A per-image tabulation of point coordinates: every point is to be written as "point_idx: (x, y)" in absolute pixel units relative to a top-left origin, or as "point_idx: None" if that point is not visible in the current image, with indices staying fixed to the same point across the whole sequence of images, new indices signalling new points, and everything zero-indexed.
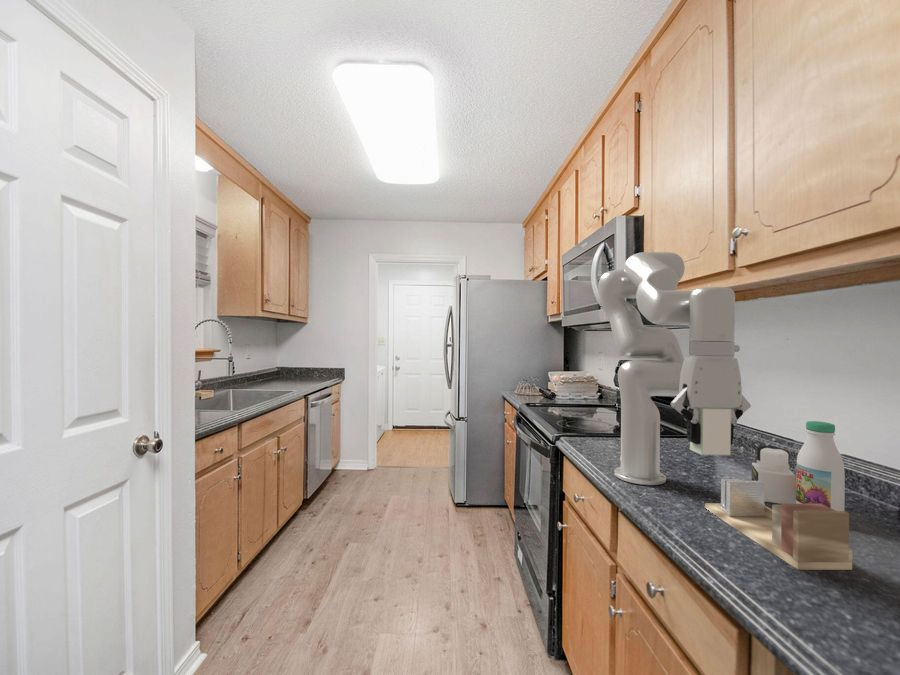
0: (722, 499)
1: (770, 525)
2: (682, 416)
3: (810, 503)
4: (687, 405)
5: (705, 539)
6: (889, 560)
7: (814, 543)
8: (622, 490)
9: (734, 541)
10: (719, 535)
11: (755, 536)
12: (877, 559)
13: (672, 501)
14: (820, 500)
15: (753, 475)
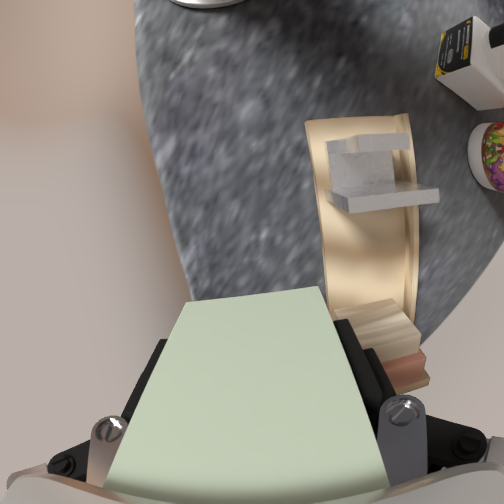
0: (341, 145)
1: (384, 231)
2: (83, 445)
3: (488, 173)
4: (78, 485)
5: (235, 281)
6: (462, 296)
7: None
8: (143, 53)
9: (286, 281)
10: (270, 261)
11: (327, 280)
12: (453, 297)
13: (241, 89)
14: (501, 186)
15: (460, 36)
